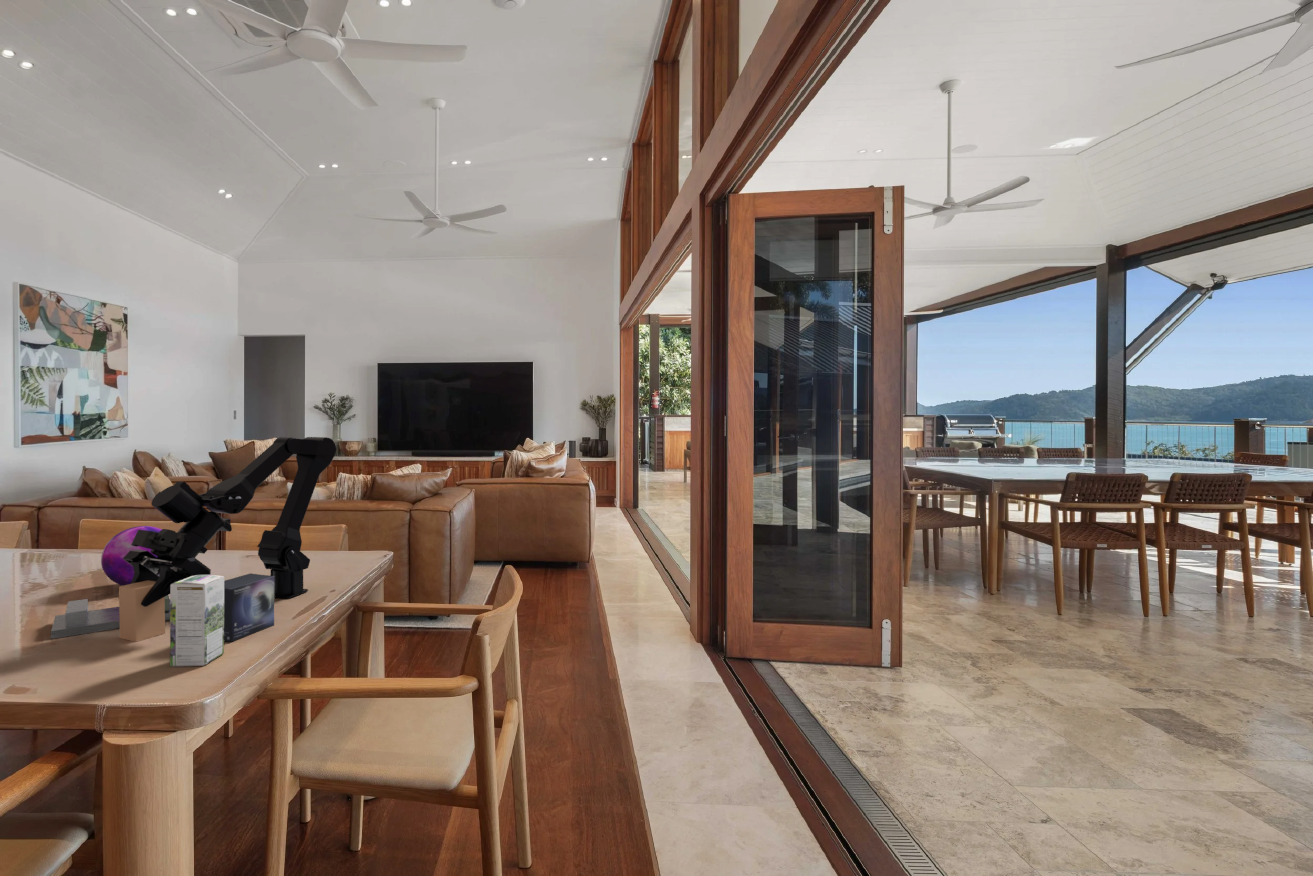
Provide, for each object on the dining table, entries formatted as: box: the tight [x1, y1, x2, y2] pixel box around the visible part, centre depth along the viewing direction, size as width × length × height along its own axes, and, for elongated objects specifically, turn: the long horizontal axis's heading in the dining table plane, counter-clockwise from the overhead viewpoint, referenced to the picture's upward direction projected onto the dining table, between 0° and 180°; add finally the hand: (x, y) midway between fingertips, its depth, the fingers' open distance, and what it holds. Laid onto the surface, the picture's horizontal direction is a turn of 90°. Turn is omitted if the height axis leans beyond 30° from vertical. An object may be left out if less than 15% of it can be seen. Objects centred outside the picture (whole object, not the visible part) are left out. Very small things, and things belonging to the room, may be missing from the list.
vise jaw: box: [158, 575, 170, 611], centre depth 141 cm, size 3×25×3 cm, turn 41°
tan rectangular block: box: [118, 580, 166, 642], centre depth 122 cm, size 5×5×10 cm
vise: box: [50, 598, 170, 640], centre depth 132 cm, size 22×12×4 cm, turn 131°
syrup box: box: [169, 574, 225, 667], centre depth 110 cm, size 6×6×14 cm
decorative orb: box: [100, 525, 165, 586], centre depth 157 cm, size 15×15×15 cm
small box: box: [224, 572, 275, 643], centre depth 125 cm, size 11×6×10 cm, turn 168°
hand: (134, 604), depth 121 cm, fingers closed on tan rectangular block, 5 cm apart
